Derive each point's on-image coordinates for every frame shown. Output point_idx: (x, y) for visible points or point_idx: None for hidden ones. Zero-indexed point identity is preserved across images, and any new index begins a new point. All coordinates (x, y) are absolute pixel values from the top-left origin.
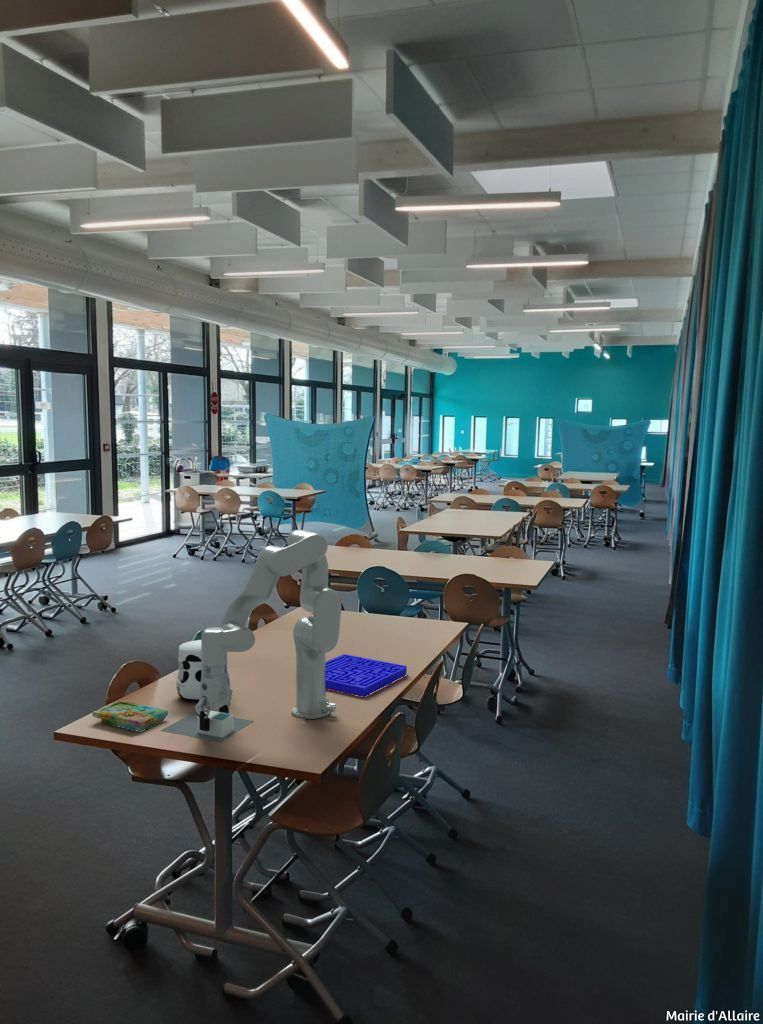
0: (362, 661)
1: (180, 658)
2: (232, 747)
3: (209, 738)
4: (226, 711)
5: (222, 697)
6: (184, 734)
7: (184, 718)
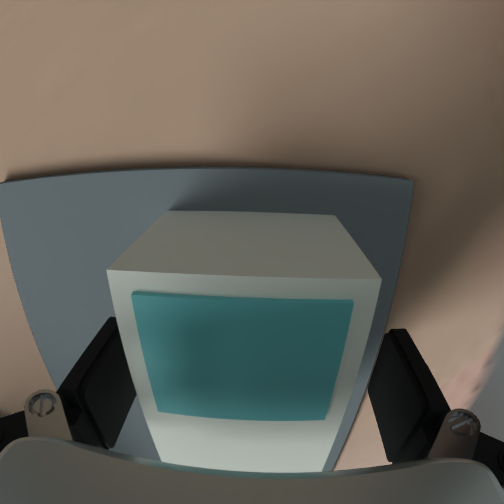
0: None
1: None
2: (426, 72)
3: None
4: (97, 375)
5: None
6: (345, 423)
7: None
